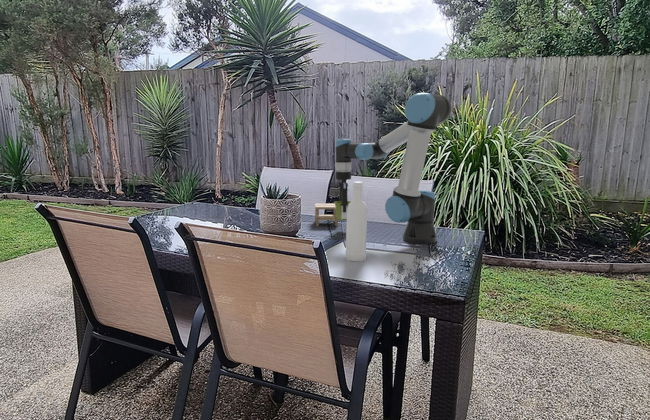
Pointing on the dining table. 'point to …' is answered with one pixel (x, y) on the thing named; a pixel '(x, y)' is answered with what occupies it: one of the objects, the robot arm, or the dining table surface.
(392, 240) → the dining table surface
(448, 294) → the dining table surface
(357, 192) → the bottle
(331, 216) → the plant stand
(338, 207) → the plant pot
